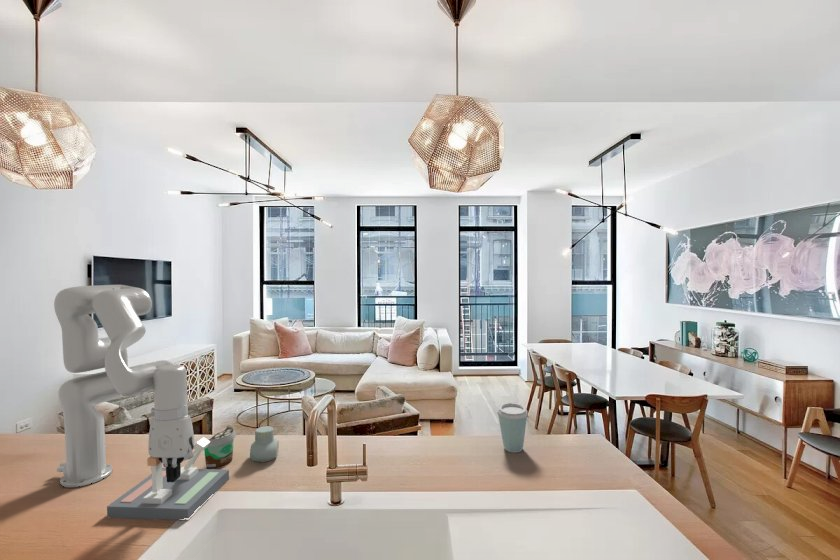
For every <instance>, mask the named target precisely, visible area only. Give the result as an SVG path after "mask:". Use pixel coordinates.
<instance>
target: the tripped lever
mask: <svg viewBox="0 0 840 560" xmlns="http://www.w3.org/2000/svg"><path fill="white" fill-rule="evenodd" d="M146 460H147V461H146V462H147V467H150V468H151V474H152V492H158V491H159V490H160V489H162V488H163V477H162V468H163V463H162V462H161V461H160V460H159V458H155V457H151V456H150V455H149V457H147V459H146Z"/></svg>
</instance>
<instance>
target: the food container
mask: <svg viewBox="0 0 840 560" xmlns="http://www.w3.org/2000/svg"><path fill="white" fill-rule="evenodd" d="M236 435H237V434H236V431H235V429H234V427H233V426H229V425H226V429H223V431H221V432H218V433H216V434H214V435H213V436H212V437H211V438H209V439H207V440H208V441H210V443H209V445H208V446H207V448H205V449H204V450H203V452H204V460H205V461H204V462H205V469H220V468H223V467H226V466H228V465H229V464H230V463H232V462H233V456H234V439H235V438H236Z"/></svg>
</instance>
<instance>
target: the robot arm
mask: <svg viewBox="0 0 840 560" xmlns="http://www.w3.org/2000/svg"><path fill="white" fill-rule="evenodd" d="M53 307H54V312H55V313H54V314H55V316H56V318H57V320H58V323H59V325H60V327H61V340H62V342H61V343H62V358H63V359H62V360H63V365H64V368H65V370H66V371H67V372H69V373H72V374H78V373H87V372H91V371H95V370H100V369H104V370H105V371H101V372H96V373H91V374H86V375H81V376H76V377H73V378H71V379H68V380H67V381H65V382H63V383H62V384H61V385H60V386H59V390H58V400H59V403H60V407H61V411H62V414H63V416H62V418H63V424H64V441H65V444H64V445H65V461H63V462H61V463H60V464H59V466H58V467H57V468H56V470H55V471H56V472H57V473H63V476H62V477H61V478H60V479H59V483H60V484H61V485H62V486H61V485H60V484H59V485H60V486H61V487H63V486H64V488H79V486H80V487H84V486H88V485H92V484H94V483H97V482H99V481H102V480H104V479H105V478H107V477H108V476H109V475H111V474H112V472H113V465H111V464H109V463H107V460H106V459H107V458H106V457H107V456H106V455H107V454H106V433H105V432H106V431H105V418H104V415H103V414H102V412H100V411H99V410H97V409H96V408H95V406H96V405H100V404H102V403H105V402H110V401H113V400H117V399H120V398H122V397H127V398H128V397H134V396H138V395H142V394H144V393H148V392H149V393H150V392H152V391H153V403H154V407H152V408H151V409H150V412H151V413H152V414H154V418H151V422H150V425H149V426H150V427H149V432H148V444H147V445H148V447H147V448H148V455H149V457H150V456H151V457H155V458H159V460H160V461H161V462H162V467H163V468H166V477H167V482H174V481H175V480H177V479H178V478H179V477H180V474H181V468H182V466H181V464H182V463H183V461H189V459H191V458H192V457H193V452H194V451H193V450H195V449H194V446H195V435H194V429H193V428H194V427H193V422H192V419H191V415H190V414H189V413H188V412H189V410H188V409H189V408H188V381H187V380H188V379H187V378H188V375H187V368H186V367H185V366H184V365H182V364H174V363H173V362H171V361H168V360H162V359H161V360H156V361H153V362H147V363H141V364H137V365H132V366H129V360H128V358H129V357H128V350H127V348H129V347H131V346H133V345H134V344H136V343H137V342H139V341H140V340H141V339H142V338H143V337H144V336H145V334H146V332H147V331H146V329H147V328H146V327H145V325H144V323H143V322H142V320H141V318H140V317H139V316H145V315H147V314H149V313H150V311H151V310H152V307H153V301H152V298H151V296H150V294H149V293H148V292H147V291H146V290H145V289H143V288H140V287H138V286H137V287H135V286H130V285H127V284H126V285H125V284H103V285H80V286H79V285H78V286H72V287H67V288H64V289H62V290H60V291H59V292H57V294H56V295H55V298H54V300H53ZM91 314H93V315H94V314H95V316H96V317H97V319H98V321H99V322H100V324H101V326H102V328H103V330H104V331H105V333H106V336H107V337H99V327H98V324H97V322H96V321H95V319H94V318H92V316H90V315H91ZM103 478H104V479H103ZM91 483H92V484H91Z"/></svg>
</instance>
